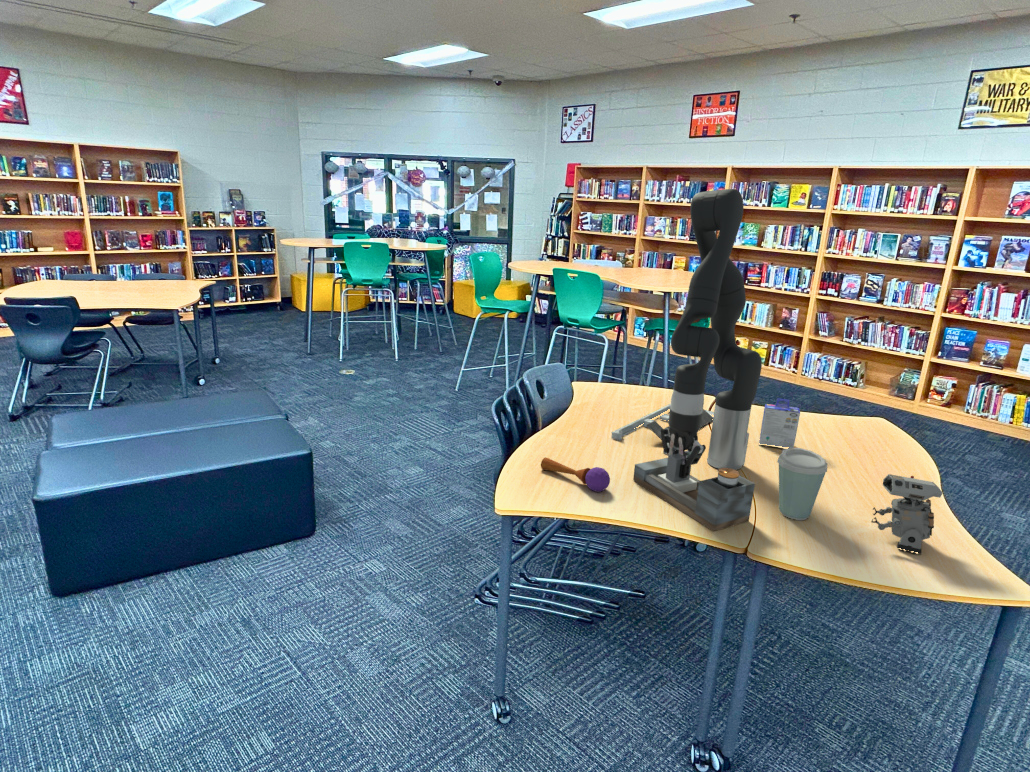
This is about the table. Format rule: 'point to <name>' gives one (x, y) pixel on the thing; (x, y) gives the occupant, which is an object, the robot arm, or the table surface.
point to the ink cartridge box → (779, 424)
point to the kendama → (581, 474)
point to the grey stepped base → (700, 496)
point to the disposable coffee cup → (799, 481)
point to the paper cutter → (655, 423)
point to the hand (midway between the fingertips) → (677, 474)
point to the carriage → (677, 475)
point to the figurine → (909, 510)
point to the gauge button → (728, 478)
